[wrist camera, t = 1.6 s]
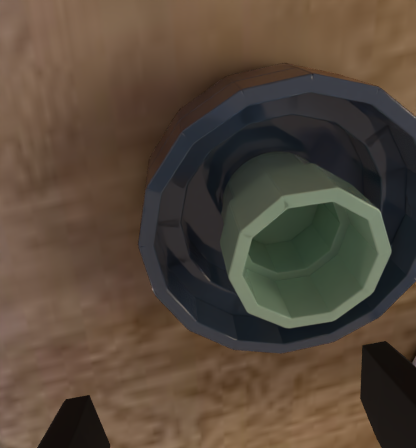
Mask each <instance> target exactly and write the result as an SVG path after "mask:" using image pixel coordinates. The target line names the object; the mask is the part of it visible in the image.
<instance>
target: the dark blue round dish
mask: <svg viewBox="0 0 416 448" xmlns="http://www.w3.org/2000/svg"><path fill="white" fill-rule="evenodd" d="M269 152H289V153H293V154H296V155H299V156H301V157H303V158H305V159H306V160H308V161H309V162H310V163H313V164H316V165H318V166H320V167H321V168H323V169H325V170H327V171H329V172H330V173H332V174H334V175H336V176H338V177H339V178H341V179H343V180H345V181H347V182H348V183H350V184H351V185H352V186H353V187H355V188H356V189H357V190H358V191H359V192H360V193H361V194H362V195H364V196H365V197H366V198H367V199H368V200H369V201H370V202H371V203H373V204H374V205H375V206H376V207H377V208H378V209H379V210H380V211H381V215H382V218H383V222H384V225H385V229H386V232H387V236H388V239H389V243H390V247H391V250H392V251H391V255H390V257H389V259H388V262H387V264H386V266H385V268H384V270H383V273H382V275H381V277H380V279H379V281H378V284H377V286H376V288H375V290H374V292H373V293H372V294H371V295H370V296H368V297H367V298H366V299H364V300H363V301H361V302H360V303H359V304H357V305H356V306H354V307H353V308H352V309H350V310H349V311H347V312H346V313H345V314H343V315H342V316H341V317H339V318H338V319H336V320H335V321H332V322H326V323H320V324H314V325H307V326H301V327H295V328H284V327H282V326H279V325H277V324H274V323H272V322H269V321H267V320H264V319H262V318H259V317H256V316H254V315H251V314H249V313H248V312H247V311H246V310H245V308H244V306H243V304H242V302H241V300H240V299H239V297H238V295H237V293H236V291H235V289H234V288H233V286H232V284H231V282H230V280H229V278H228V275H227V271H226V267H225V262H224V258H223V254H222V250H221V246H220V239H221V235H222V230H223V226H224V223H223V220H222V216H221V212H222V199H223V193H224V190H225V187H226V185H227V183H228V181H229V180H230V178H231V176H232V175H233V174H234V173H235V171H236V170H237V169H238V168H239V167H240V166H242V165H243V164H244V163H246V162H247V161H249V160H250V159H252V158H254V157H256V156H259V155H261V154H265V153H269ZM138 245H139V250H140V253H141V256H142V259H143V262H144V265H145V268H146V271H147V274H148V277H149V280H150V283H151V286H152V289H153V292H154V294H155V296H156V297H157V298H158V299H159V300H160V301H161V302H162V303H163V304H164V305H165V306H166V307H167V308H168V309H169V311H170V312H171V313H172V314H173V315H174V316H175V317H176V318H177V319H178V320H179V321H180V322H181V323H182V324H183V325H184V326H185V327H186V328H187V329H189V331H191V332H194V333H196V334H198V335H201V336H203V337H205V338H207V339H210V340H212V341H214V342H216V343H219V344H221V345H223V346H226V347H228V348H230V349H233V350H242V351H254V352H267V353H280V354H282V353H287V352H292V351H296V350H301V349H305V348H310V347H314V346H319V345H323V344H328V343H332V342H335V341H337V340H339V339H340V338H342V337H344V336H346V335H348V334H350V333H351V332H353V331H355V330H357V329H359V328H361V327H363V326H364V325H366V324H368V323H370V322H372V321H374V320H375V319H377V318H379V317H380V316H381V315H382V314H383V313H384V312H385V311H386V310H387V309H388V308H389V307H390V306H391V305H392V304H393V303H394V302H395V301H396V300H397V299H398V298H399V297H400V296H401V295H402V294H403V293H404V292H405V291H406V290H407V289H408V288H409V287H410V286H411V285H412V284H413V283H414V282H415V281H416V116H414V115H413V114H412V113H411V112H410V111H408V110H407V109H406V108H405V107H404V106H402V105H401V104H400V103H399V102H397V101H396V100H395V99H394V98H393V97H391V96H390V95H389V94H388V93H386V92H385V91H384V90H383V89H382V88H380V87H378V86H375V85H372V84H369V83H366V82H363V81H359V80H356V79H353V78H350V77H346V76H343V75H340V74H336V73H331V72H327V71H322V70H317V69H312V68H308V67H303V66H298V65H293V64H288V63H281V64H277V65H272V66H268V67H263V68H259V69H255V70H250V71H246V72H241V73H237V74H233V75H228V76H226V77H224V78H223V79H221V80H220V81H218V82H217V83H216V84H214V85H213V86H212V87H210V88H209V89H207V90H206V91H205V92H203V93H202V94H200V95H199V96H198V97H196V98H195V99H193V100H192V101H191V102H189V103H188V104H187V105H185V106H184V107H182V108H181V109H180V110H179V112H177V114H176V115H175V117H174V118H173V120H172V122H171V123H170V125H169V127H168V128H167V130H166V132H165V133H164V135H163V136H162V138H161V140H160V141H159V143H158V145H157V146H156V148H155V150H154V151H153V153H152V154H151V156H150V159H149V163H148V171H147V178H146V186H145V193H144V201H143V208H142V216H141V224H140V233H139V241H138Z"/></svg>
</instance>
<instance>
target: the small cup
mask: <svg viewBox="0 0 416 448" xmlns="http://www.w3.org/2000/svg"><path fill="white" fill-rule="evenodd" d="M221 216H222V220H223V223H224V226H223V230H222V235H221V239H220V246H221V250H222V254H223V258H224V262H225V267H226V271H227V275H228V278H229V280H230V282H231V284H232V286H233V288H234V289H235V291H236V293H237V295H238V297H239V299H240V300H241V302H242V304H243V306H244V308H245V310H246V311H247V312H248V313H249V314H251V315H254V316H256V317H259V318H262V319H264V320H267V321H269V322H272V323H274V324H277V325H279V326H282V327H284V328H295V327H301V326H307V325H314V324H320V323H326V322H332V321H335V320H336V319H338V318H339V317H341V316H342V315H343V314H345V313H346V312H347V311H349V310H350V309H352V308H353V307H354V306H356V305H357V304H359V303H360V302H361V301H363V300H364V299H366V298H367V297H368V296H370V295H371V294H372V293H373V292H374V290H375V288H376V286H377V284H378V281H379V279H380V277H381V275H382V273H383V270H384V268H385V266H386V264H387V262H388V259H389V257H390V255H391V251H392V250H391V247H390V243H389V239H388V236H387V232H386V229H385V225H384V222H383V218H382V215H381V211H380V210H379V209H378V208H377V207H376V206H375V205H374V204H373V203H371V202H370V201H369V200H368V199H367V198H366V197H365V196H364V195H362V194H361V193H360V192H359V191H358V190H357V189H356V188H355V187H353V186H352V185H351V184H350V183H348V182H347V181H345V180H343V179H341V178H339V177H338V176H336V175H334V174H332V173H330V172H329V171H327V170H325V169H323V168H321V167H320V166H318V165H316V164H313V163H310V162H309V161H308V160H306V159H305V158H303V157H301V156H299V155H296V154H293V153H289V152H269V153H265V154H261V155H259V156H256V157H254V158H252V159H250V160H249V161H247V162H246V163H244V164H243V165H242V166H240V167H239V168H238V169H237V170H236V171H235V173H234V174H233V175H232V176H231V178H230V180H229V181H228V183H227V185H226V187H225V190H224V193H223V199H222V212H221Z"/></svg>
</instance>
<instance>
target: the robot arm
mask: <svg viewBox="0 0 416 448" xmlns="http://www.w3.org/2000/svg"><path fill="white" fill-rule="evenodd" d="M360 399H361V402H362V404H363V406H364V409H365V411H366V414H367V416H368V419H369V421H370V424H371V426H372V428H373V431H374V433H375V435H376V438H377V440H378V442H379V443H380V445H381V447H382V448H416V356H415V358H414V360H413V362H412V363H411V362H410V361H409V360H407V359H406V358H405V357H404V356H403V355H402V354H400V353H399V352H398V351H397V350H396V349H395V348H393V347H392V346H391V345H390V344H389V343H387V342H386V341H384V342H378V343H373V344H367V345H363V346H362V370H361V394H360ZM37 448H110V443H109V441H108V438H107V436H106V434H105V431H104V429H103V427H102V424H101V422H100V419H99V417H98V415H97V412H96V410H95V408H94V405H93V403H92V400H91V398H90V396H89V395H87V396H82V397H76V398H71V399H66V400H65V401H64V403H63V404H62V406H61V408H60V409H59V411H58V413H57V414H56V416H55V418H54V420H53V421H52V423H51V425H50V427H49V428H48V430H47V432H46V434H45V435H44V437H43V439H42V440H41V442H40V444H39V445H38V447H37Z"/></svg>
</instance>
